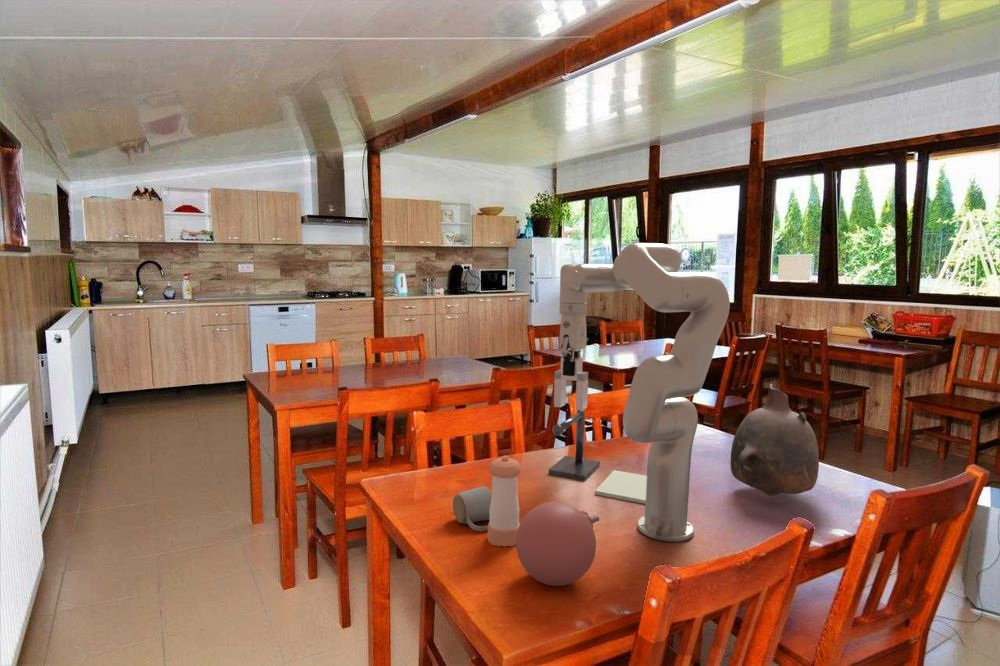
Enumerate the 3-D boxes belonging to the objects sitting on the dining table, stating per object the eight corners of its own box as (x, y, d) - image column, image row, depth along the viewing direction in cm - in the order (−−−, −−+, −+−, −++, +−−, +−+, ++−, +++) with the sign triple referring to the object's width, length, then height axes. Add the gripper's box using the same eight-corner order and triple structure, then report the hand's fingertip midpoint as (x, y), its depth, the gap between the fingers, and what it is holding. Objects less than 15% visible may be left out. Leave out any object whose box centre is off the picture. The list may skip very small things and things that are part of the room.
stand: (573, 492, 165) (575, 428, 162) (535, 485, 169) (537, 423, 167) (599, 466, 186) (601, 409, 183) (565, 460, 190) (567, 405, 188)
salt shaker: (498, 529, 142) (499, 449, 139) (526, 537, 138) (528, 454, 136) (481, 541, 136) (482, 457, 133) (509, 550, 132) (511, 464, 129)
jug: (810, 521, 149) (820, 400, 145) (718, 501, 160) (726, 388, 157) (820, 490, 169) (829, 383, 166) (738, 474, 181) (745, 373, 177)
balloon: (627, 578, 121) (630, 503, 119) (551, 612, 109) (554, 529, 107) (573, 547, 133) (575, 479, 131) (499, 575, 121) (500, 501, 119)
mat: (663, 507, 156) (663, 503, 156) (595, 494, 164) (595, 490, 163) (676, 484, 172) (676, 480, 172) (613, 473, 180) (613, 470, 180)
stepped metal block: (582, 410, 170) (584, 359, 168) (553, 406, 174) (554, 357, 172) (587, 407, 173) (588, 358, 172) (559, 403, 177) (560, 355, 176)
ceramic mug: (450, 517, 148) (450, 487, 147) (481, 511, 152) (481, 481, 150) (469, 536, 138) (470, 504, 137) (501, 529, 142) (502, 497, 141)
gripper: (575, 311, 161) (574, 380, 163) (595, 307, 176) (593, 370, 178) (549, 310, 164) (547, 377, 167) (570, 306, 179) (569, 368, 182)
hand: (571, 373), depth 172 cm, fingers closed on stepped metal block, 4 cm apart
